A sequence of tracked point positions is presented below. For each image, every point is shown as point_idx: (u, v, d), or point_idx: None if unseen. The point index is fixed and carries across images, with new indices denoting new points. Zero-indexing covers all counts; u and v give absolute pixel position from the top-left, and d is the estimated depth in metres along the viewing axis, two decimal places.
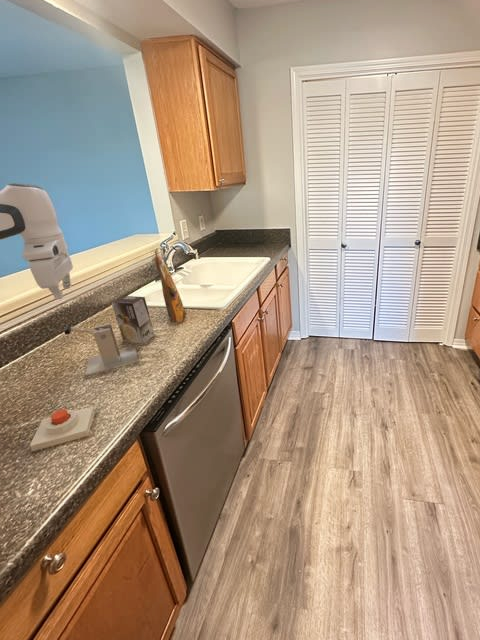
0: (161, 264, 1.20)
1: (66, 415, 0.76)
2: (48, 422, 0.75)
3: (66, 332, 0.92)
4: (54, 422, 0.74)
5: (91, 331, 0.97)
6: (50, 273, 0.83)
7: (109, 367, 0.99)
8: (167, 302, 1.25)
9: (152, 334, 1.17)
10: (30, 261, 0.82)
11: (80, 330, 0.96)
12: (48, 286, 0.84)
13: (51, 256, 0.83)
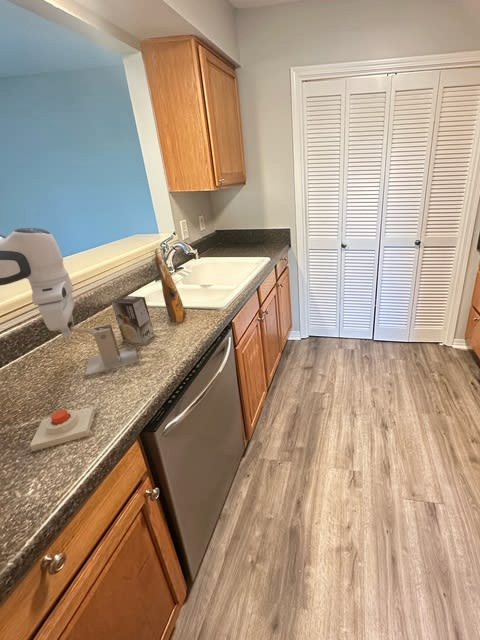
0: (161, 264, 1.20)
1: (66, 415, 0.76)
2: (48, 422, 0.75)
3: None
4: (54, 422, 0.74)
5: (91, 331, 0.97)
6: (60, 316, 0.84)
7: (109, 367, 0.99)
8: (167, 302, 1.25)
9: (152, 334, 1.17)
10: (40, 305, 0.83)
11: (80, 330, 0.96)
12: (58, 328, 0.85)
13: (61, 299, 0.84)
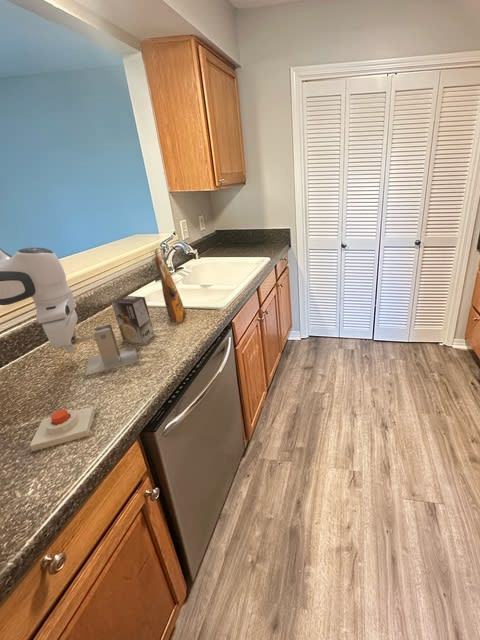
0: (161, 264, 1.20)
1: (66, 415, 0.76)
2: (48, 422, 0.75)
3: None
4: (54, 422, 0.74)
5: (91, 336, 0.98)
6: (64, 334, 0.86)
7: (109, 367, 0.99)
8: (167, 302, 1.25)
9: (152, 334, 1.17)
10: (44, 323, 0.84)
11: (81, 340, 0.97)
12: (62, 346, 0.86)
13: (64, 317, 0.86)
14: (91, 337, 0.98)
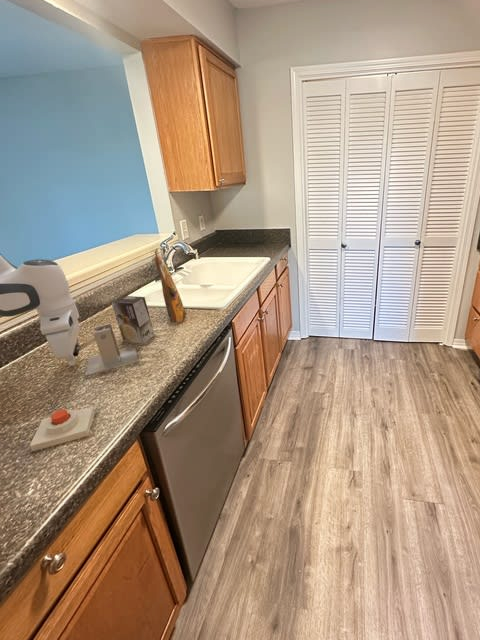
0: (161, 264, 1.20)
1: (66, 415, 0.76)
2: (48, 422, 0.75)
3: (75, 355, 0.95)
4: (54, 422, 0.74)
5: (93, 339, 0.98)
6: (67, 345, 0.87)
7: (109, 367, 0.99)
8: (167, 302, 1.25)
9: (152, 334, 1.17)
10: (47, 334, 0.86)
11: (85, 345, 0.98)
12: (65, 356, 0.88)
13: (68, 328, 0.87)
14: (93, 340, 0.98)
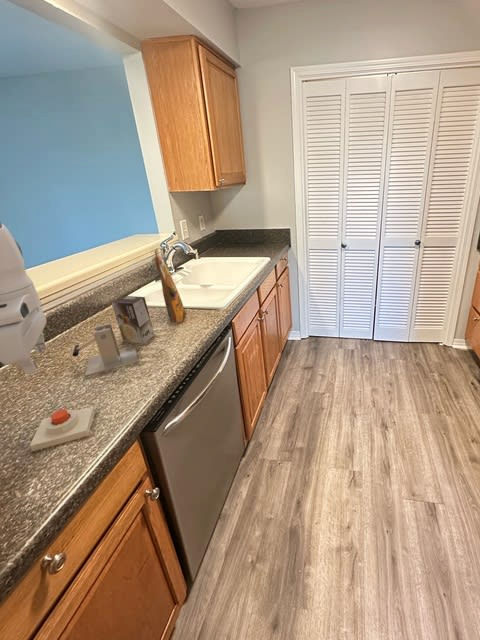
0: (161, 264, 1.20)
1: (66, 415, 0.76)
2: (48, 422, 0.75)
3: (75, 355, 0.95)
4: (54, 422, 0.74)
5: (93, 339, 0.98)
6: (18, 344, 0.59)
7: (109, 367, 0.99)
8: (167, 302, 1.25)
9: (152, 334, 1.17)
10: None
11: (85, 345, 0.98)
12: (16, 361, 0.60)
13: (19, 320, 0.59)
14: (93, 340, 0.98)
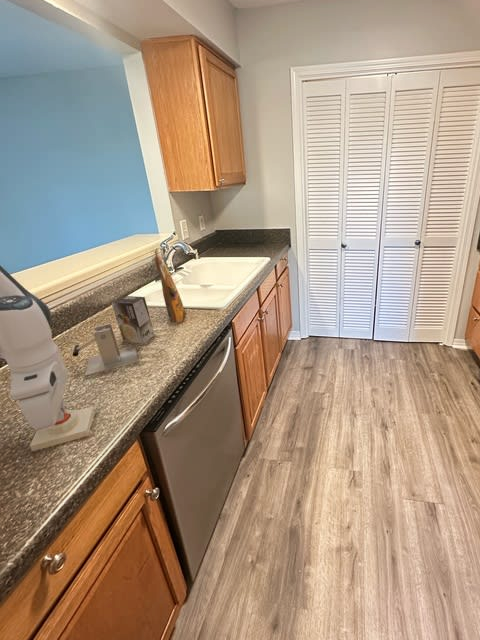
0: (161, 264, 1.20)
1: (67, 418, 0.76)
2: None
3: (75, 355, 0.95)
4: None
5: (93, 339, 0.98)
6: (48, 412, 0.65)
7: (109, 367, 0.99)
8: (167, 302, 1.25)
9: (152, 334, 1.17)
10: (21, 400, 0.63)
11: (85, 345, 0.98)
12: (45, 427, 0.66)
13: (48, 390, 0.65)
14: (93, 340, 0.98)
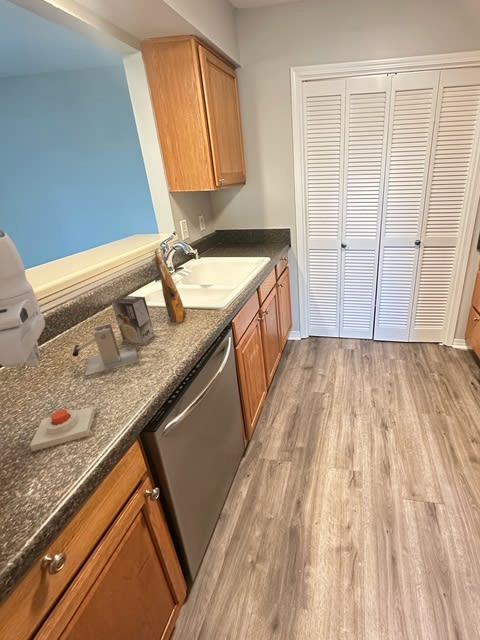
0: (161, 264, 1.20)
1: (66, 415, 0.76)
2: (48, 422, 0.75)
3: (75, 355, 0.95)
4: (54, 422, 0.74)
5: (93, 339, 0.98)
6: (17, 348, 0.62)
7: (109, 367, 0.99)
8: (167, 302, 1.25)
9: (152, 334, 1.17)
10: None
11: (85, 345, 0.98)
12: (14, 364, 0.63)
13: (18, 325, 0.62)
14: (93, 340, 0.98)
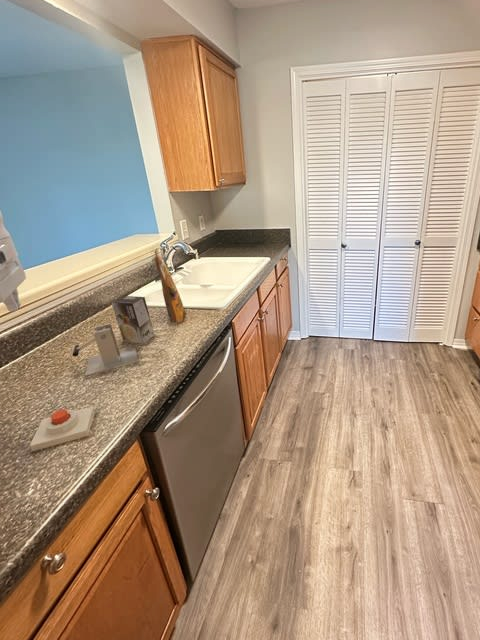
0: (161, 264, 1.20)
1: (66, 415, 0.76)
2: (48, 422, 0.75)
3: (75, 355, 0.95)
4: (54, 422, 0.74)
5: (93, 339, 0.98)
6: None
7: (109, 367, 0.99)
8: (167, 302, 1.25)
9: (152, 334, 1.17)
10: None
11: (85, 345, 0.98)
12: None
13: None
14: (93, 340, 0.98)
